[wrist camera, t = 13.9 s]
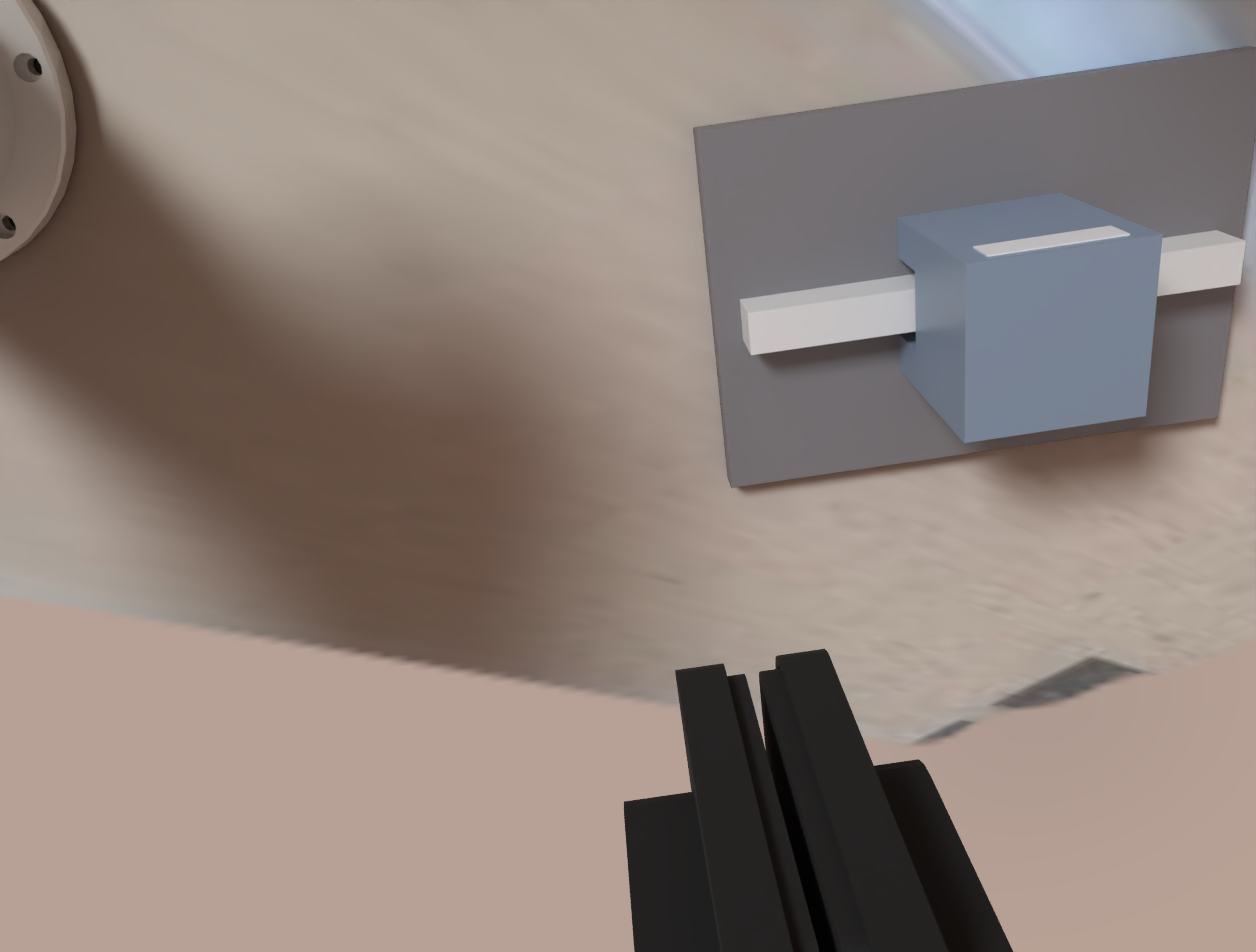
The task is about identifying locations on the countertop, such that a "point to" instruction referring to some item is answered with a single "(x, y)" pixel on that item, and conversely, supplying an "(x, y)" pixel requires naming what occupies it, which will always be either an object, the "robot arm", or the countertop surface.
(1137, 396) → the block
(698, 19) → the countertop surface
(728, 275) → the rail plate
